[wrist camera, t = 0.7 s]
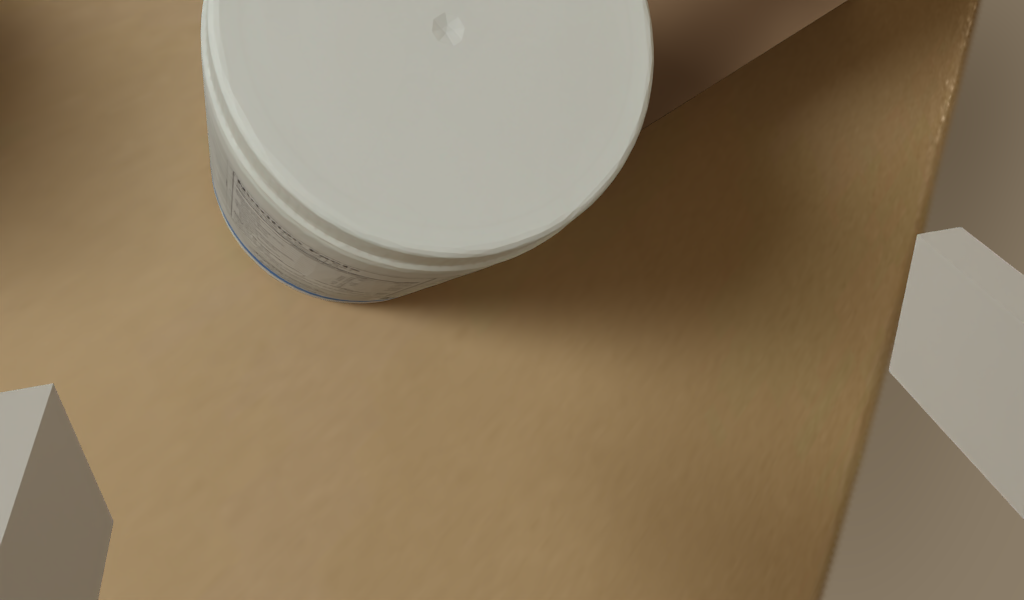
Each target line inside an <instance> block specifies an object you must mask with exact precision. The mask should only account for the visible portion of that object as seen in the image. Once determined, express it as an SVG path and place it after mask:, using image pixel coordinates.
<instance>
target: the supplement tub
mask: <svg viewBox="0 0 1024 600" xmlns="http://www.w3.org/2000/svg"><path fill="white" fill-rule="evenodd" d="M201 54H202V69H203V81H204V93H205V105H206V116H207V128H208V139H209V151H210V166H211V173H212V181H213V187H214V192H215V195H216V198H217V201H218V204H219V207H220V210H221V212H222V215H223V217H224V220H225V222H226V224H227V226H228V228H229V229H230V231H231V233H232V234H233V236H234V238H235V239H236V240H237V242H238V243H239V245H240V246H241V247H242V249H243V250H244V251H245V252H246V253H247V254H248V256H249V257H250V258H251V259H252V260H253V261H254V262H255V263H257V264H258V265H259V266H260V267H261V268H262V269H263V270H264V271H265V272H267V273H268V274H269V275H270V276H272V277H273V278H275V279H276V280H278V281H280V282H281V283H283V284H285V285H287V286H289V287H290V288H293V289H295V290H297V291H299V292H301V293H304V294H307V295H309V296H312V297H315V298H319V299H323V300H327V301H334V302H342V303H375V302H382V301H387V300H391V299H394V298H397V297H401V296H404V295H407V294H410V293H413V292H416V291H419V290H422V289H425V288H428V287H431V286H434V285H437V284H440V283H443V282H446V281H448V280H451V279H454V278H457V277H460V276H463V275H467V274H470V273H473V272H476V271H479V270H481V269H484V268H487V267H490V266H492V265H494V264H497V263H500V262H503V261H506V260H509V259H511V258H514V257H517V256H519V255H521V254H523V253H525V252H527V251H529V250H531V249H533V248H535V247H536V246H538V245H540V244H541V243H543V242H545V241H546V240H548V239H549V238H551V237H552V236H554V235H555V234H557V233H558V232H560V231H561V230H562V229H563V228H564V227H565V226H567V225H568V224H569V223H570V222H571V221H573V220H574V219H575V218H576V217H578V216H579V215H580V214H581V213H583V212H584V211H585V210H586V209H588V208H589V207H590V206H591V205H592V204H593V203H594V202H595V201H596V200H597V199H598V198H599V197H600V196H601V195H602V194H603V192H604V191H605V190H606V189H607V188H608V186H609V185H610V184H611V183H612V181H613V180H614V179H615V177H616V176H617V174H618V173H619V172H620V170H621V169H622V167H623V165H624V164H625V162H626V160H627V158H628V156H629V154H630V152H631V150H632V149H633V147H634V145H635V143H636V140H637V138H638V135H639V133H640V130H641V128H642V125H643V122H644V119H645V115H646V112H647V108H648V104H649V99H650V93H651V87H652V79H653V67H654V45H653V32H652V24H651V17H650V11H649V6H648V2H647V0H204V1H203V8H202V19H201Z"/></svg>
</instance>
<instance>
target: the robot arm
mask: <svg viewBox="0 0 1024 600" xmlns="http://www.w3.org/2000/svg"><path fill="white" fill-rule="evenodd" d="M889 372H890V373H891V374H892V375H893V376H894V377H895V378H896V379H897V381H899V383H900V384H901V385H902V386H903V387H904V388H905V389H906V390H907V392H908V393H909V394H910V395H911V396H912V397H913V398H914V399H915V400H916V401H917V403H918V404H919V405H920V406H921V407H922V408H923V409H924V410H925V411H926V412H927V413H928V415H929V416H930V417H931V418H932V419H933V420H934V421H935V422H936V423H937V424H938V426H939V427H940V428H941V429H942V430H943V431H944V432H945V433H946V434H947V435H948V437H950V439H951V440H952V441H953V442H954V443H955V444H956V445H957V447H958V448H959V449H960V450H961V451H962V452H963V453H964V454H965V455H966V456H967V458H968V459H969V460H970V461H971V462H972V463H973V464H974V465H975V466H976V467H977V469H978V470H979V471H980V472H981V473H982V474H983V475H984V476H985V477H986V478H987V480H989V482H990V483H991V484H992V485H993V486H994V487H995V488H996V489H997V490H998V491H999V493H1000V494H1001V495H1002V496H1003V497H1004V498H1005V499H1006V500H1007V502H1008V503H1009V504H1010V505H1011V506H1012V507H1013V508H1014V509H1015V510H1016V511H1017V513H1018V514H1019V515H1020V516H1021V517H1022V518H1023V519H1024V275H1023V274H1021V273H1020V272H1019V271H1017V270H1016V269H1015V268H1013V267H1012V266H1011V265H1010V264H1008V263H1007V262H1006V261H1005V260H1003V259H1002V258H1001V257H999V256H998V255H997V254H996V253H994V252H993V251H992V250H990V249H989V248H988V247H986V246H985V245H984V244H982V243H981V242H980V241H979V240H977V239H976V238H975V237H974V236H972V235H971V234H969V233H968V232H967V231H966V230H965V229H963V228H962V227H957V228H952V229H946V230H940V231H934V232H929V233H923V234H917V238H916V243H915V248H914V253H913V257H912V262H911V267H910V272H909V276H908V281H907V286H906V291H905V295H904V300H903V305H902V310H901V314H900V319H899V324H898V329H897V333H896V338H895V343H894V348H893V352H892V357H891V362H890V367H889ZM112 526H113V519H112V517H111V514H110V512H109V510H108V507H107V505H106V503H105V501H104V498H103V496H102V494H101V491H100V489H99V487H98V485H97V482H96V480H95V478H94V475H93V473H92V471H91V469H90V466H89V464H88V462H87V460H86V457H85V455H84V453H83V450H82V448H81V446H80V444H79V441H78V439H77V437H76V434H75V432H74V430H73V428H72V425H71V423H70V421H69V418H68V416H67V414H66V412H65V409H64V407H63V405H62V402H61V400H60V398H59V396H58V393H57V391H56V389H55V386H54V384H47V385H42V386H36V387H30V388H24V389H18V390H13V391H7V392H1V393H0V600H98V597H99V592H100V587H101V582H102V577H103V572H104V567H105V562H106V557H107V552H108V547H109V542H110V536H111V531H112Z"/></svg>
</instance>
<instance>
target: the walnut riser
mask: <svg viewBox="0 0 1024 600" xmlns="http://www.w3.org/2000/svg"><path fill="white" fill-rule="evenodd" d="M846 1H847V0H647V2H648V6H649V11H650V17H651V24H652V32H653V45H654V67H653V79H652V87H651V93H650V99H649V104H648V108H647V112H646V115H645V119H644V122H643V125H642V128H641V130H642V129H644V128H646V127H647V126H649V125H650V124H652V123H653V122H655V121H657V120H658V119H660V118H661V117H663V116H665V115H666V114H668V113H669V112H671V111H673V110H674V109H676V108H677V107H679V106H680V105H682V104H684V103H685V102H687V101H688V100H690V99H692V98H693V97H695V96H696V95H698V94H700V93H701V92H703V91H704V90H706V89H707V88H709V87H711V86H712V85H714V84H715V83H717V82H719V81H720V80H722V79H723V78H725V77H727V76H728V75H730V74H731V73H733V72H734V71H736V70H738V69H739V68H741V67H742V66H744V65H746V64H747V63H749V62H750V61H752V60H754V59H755V58H757V57H758V56H760V55H761V54H763V53H765V52H766V51H768V50H769V49H771V48H773V47H774V46H776V45H777V44H779V43H781V42H782V41H784V40H785V39H787V38H788V37H790V36H792V35H793V34H795V33H796V32H798V31H800V30H801V29H803V28H804V27H806V26H808V25H809V24H811V23H812V22H814V21H815V20H817V19H819V18H820V17H822V16H823V15H825V14H827V13H828V12H830V11H831V10H833V9H835V8H836V7H838V6H839V5H841V4H842V3H844V2H846ZM641 130H640V131H641Z"/></svg>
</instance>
